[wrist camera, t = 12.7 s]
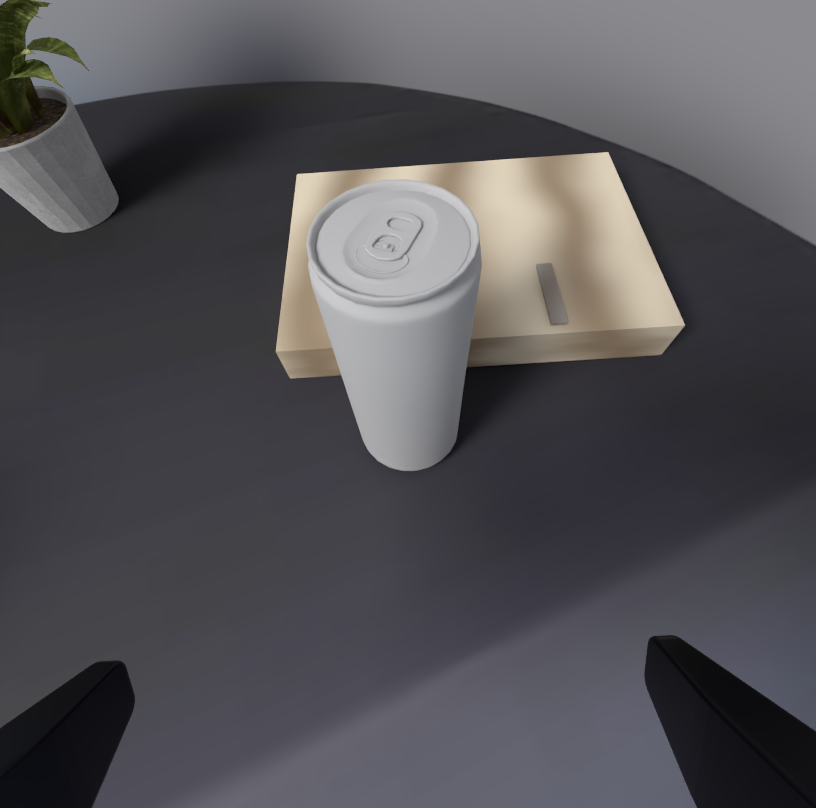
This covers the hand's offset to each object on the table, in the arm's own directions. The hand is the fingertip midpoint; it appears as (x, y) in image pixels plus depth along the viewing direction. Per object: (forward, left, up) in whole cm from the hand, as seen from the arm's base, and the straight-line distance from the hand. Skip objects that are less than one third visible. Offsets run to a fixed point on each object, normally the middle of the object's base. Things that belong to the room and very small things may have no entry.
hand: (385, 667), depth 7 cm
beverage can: (+8, -5, -11) cm, 15 cm away
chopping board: (+15, -14, -11) cm, 23 cm away
